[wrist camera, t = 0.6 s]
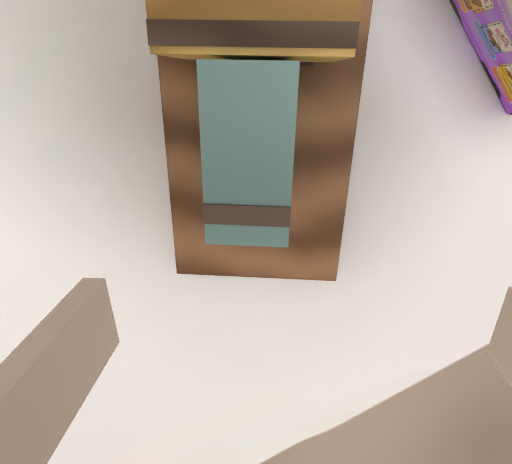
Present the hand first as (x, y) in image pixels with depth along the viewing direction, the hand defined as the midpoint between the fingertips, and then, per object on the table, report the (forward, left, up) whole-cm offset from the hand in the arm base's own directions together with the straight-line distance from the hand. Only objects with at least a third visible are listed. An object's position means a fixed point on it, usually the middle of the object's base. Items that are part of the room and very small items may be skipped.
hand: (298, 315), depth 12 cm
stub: (-3, -2, -20) cm, 20 cm away
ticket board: (-2, -3, -22) cm, 22 cm away
